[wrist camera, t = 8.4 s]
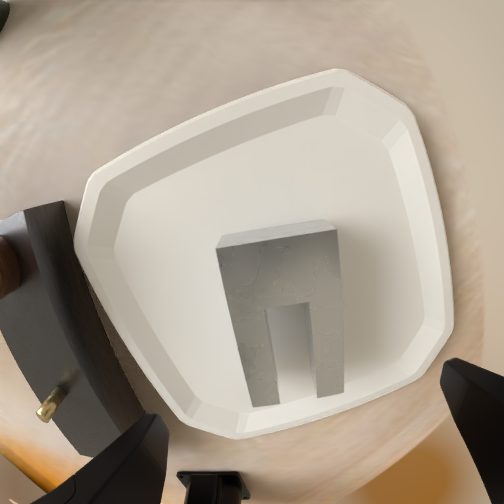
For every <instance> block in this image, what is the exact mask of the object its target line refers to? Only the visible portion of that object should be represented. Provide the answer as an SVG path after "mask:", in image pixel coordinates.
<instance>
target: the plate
mask: <svg viewBox="0 0 504 504" xmlns="http://www.w3.org/2000/svg"><path fill="white" fill-rule="evenodd" d="M320 219H324V220H326V221H327V222H328V223H330V224H331V225H332V226H334V227H335V228H336V229H337V235H338V245H339V257H340V269H341V284H342V301H343V324H344V393H341V394H337V395H332V396H327V397H322V398H317V396H316V392H315V387H314V383H313V379H312V375H311V370H310V359H309V348H308V338H307V328H306V318H305V309H304V303H299V304H293V305H287V306H281V307H275V308H268V309H266V310H267V315H268V321H269V327H270V333H271V339H272V345H273V350H274V356H275V362H276V368H277V374H278V383H279V395H280V404H279V405H271V406H262V407H252V403H251V399H250V395H249V391H248V387H247V383H246V379H245V375H244V371H243V367H242V363H241V359H240V355H239V351H238V347H237V343H236V339H235V335H234V330H233V326H232V322H231V318H230V313H229V309H228V304H227V300H226V296H225V291H224V287H223V282H222V278H221V273H220V268H219V264H218V259H217V254H216V250H215V248H216V246H217V244H218V242H219V241H220V239H221V237H222V235H226V234H232V233H238V232H244V231H250V230H256V229H262V228H269V227H275V226H281V225H287V224H294V223H300V222H306V221H313V220H320ZM73 243H74V250H75V253H76V255H77V258H78V260H79V262H80V264H81V266H82V268H83V270H84V272H85V274H86V276H87V278H88V280H89V282H90V284H91V286H92V288H93V290H94V292H95V294H96V295H97V297H98V299H99V301H100V303H101V305H102V306H103V308H104V310H105V312H106V313H107V315H108V317H109V319H110V320H111V322H112V324H113V325H114V327H115V329H116V330H117V332H118V334H119V335H120V337H121V339H122V340H123V342H124V343H125V345H126V347H127V348H128V350H129V351H130V353H131V354H132V356H133V357H134V359H135V360H136V362H137V363H138V365H139V366H140V368H141V369H142V371H143V372H144V374H145V375H146V376H147V378H148V379H149V381H150V382H151V383H152V385H153V386H154V388H155V389H156V390H157V392H158V393H159V394H160V396H161V397H162V398H163V400H164V401H165V402H166V404H167V405H168V406H169V407H170V409H171V410H172V411H173V412H174V414H175V415H176V416H177V417H178V419H179V420H180V421H182V422H183V423H185V424H186V425H188V426H191V427H194V428H197V429H200V430H203V431H207V432H210V433H213V434H216V435H220V436H223V437H227V438H231V439H245V438H250V437H255V436H259V435H264V434H268V433H272V432H276V431H280V430H284V429H288V428H292V427H295V426H299V425H302V424H306V423H309V422H312V421H316V420H319V419H322V418H325V417H328V416H331V415H334V414H337V413H340V412H343V411H345V410H348V409H351V408H353V407H356V406H359V405H361V404H364V403H366V402H369V401H371V400H374V399H376V398H378V397H381V396H383V395H385V394H388V393H390V392H392V391H394V390H397V389H399V388H401V387H403V386H405V385H407V384H409V383H411V382H413V381H415V380H417V379H418V378H420V377H421V376H422V375H423V374H424V373H425V372H426V370H427V369H428V367H429V366H430V365H431V363H432V362H433V360H434V359H435V358H436V356H437V355H438V353H439V352H440V350H441V349H442V347H443V346H444V344H445V343H446V341H447V340H448V338H449V337H450V335H451V333H452V330H453V327H454V324H455V321H454V299H453V285H452V274H451V265H450V257H449V250H448V243H447V236H446V230H445V225H444V219H443V214H442V209H441V204H440V200H439V195H438V191H437V187H436V183H435V179H434V175H433V171H432V167H431V164H430V160H429V157H428V153H427V150H426V147H425V144H424V141H423V138H422V135H421V132H420V129H419V126H418V123H417V120H416V117H415V115H414V113H413V112H412V111H411V109H410V108H409V107H408V105H407V104H405V103H404V102H402V101H401V100H399V99H397V98H396V97H394V96H393V95H391V94H390V93H388V92H386V91H385V90H383V89H381V88H380V87H378V86H376V85H374V84H373V83H371V82H369V81H367V80H366V79H364V78H362V77H360V76H358V75H356V74H355V73H353V72H351V71H349V70H345V69H338V68H334V69H330V70H326V71H322V72H318V73H315V74H311V75H308V76H304V77H301V78H297V79H294V80H291V81H288V82H284V83H281V84H278V85H275V86H272V87H269V88H266V89H263V90H261V91H258V92H255V93H252V94H250V95H247V96H244V97H242V98H239V99H236V100H234V101H231V102H229V103H226V104H224V105H221V106H219V107H217V108H214V109H212V110H210V111H207V112H205V113H203V114H200V115H198V116H196V117H194V118H192V119H189V120H187V121H185V122H183V123H181V124H179V125H177V126H175V127H173V128H171V129H169V130H167V131H165V132H163V133H161V134H159V135H157V136H155V137H153V138H151V139H149V140H147V141H145V142H143V143H142V144H140V145H138V146H136V147H134V148H132V149H131V150H129V151H127V152H125V153H124V154H122V155H120V156H119V157H117V158H115V159H113V160H112V161H110V162H108V163H107V164H105V165H104V166H102V167H100V168H99V169H97V170H96V171H94V172H93V174H92V175H91V176H90V178H89V179H88V181H87V184H86V187H85V191H84V195H83V199H82V203H81V207H80V211H79V216H78V220H77V225H76V229H75V234H74V239H73Z"/></svg>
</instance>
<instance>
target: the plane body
mask: <svg viewBox="0 0 504 504" xmlns="http://www.w3.org/2000/svg"><path fill="white" fill-rule="evenodd" d="M0 330H1V332H2V334H3V337H4V339H5V341H6V343H7V345H8V347H9V349H10V351H11V353H12V355H13V357H14V359H15V360H16V362H17V364H18V366H19V368H20V370H21V371H22V373H23V375H24V377H25V378H26V380H27V382H28V383H29V385H30V387H31V388H32V390H33V391H34V393H35V395H36V396H37V398H38V399H39V401H40V402H41V404H42V405H41V407H40V408H39V409H38V411H37V412H36V414H37V416H38V417H39V419H41V420H42V421H43V422H45V423H48V422H49V420H50V419H51V418H52V420H53V421H54V422H55V424H56V425H57V426H58V428H59V429H60V430H61V432H62V433H63V434H64V436H65V437H66V438H67V439H68V441H69V442H70V443H71V444H72V445H73V447H74V448H75V449H76V450H77V451H78V453H79V454H80V455H84V456H88V457H93V458H94V457H96V456H97V455H98V454H99V453H100V452H102V451H103V450H104V449H105V448H106V447H107V446H109V445H110V444H111V443H112V442H113V441H115V440H116V439H117V438H118V437H119V436H120V435H121V434H123V433H124V432H125V431H126V430H127V429H128V428H130V427H131V426H132V425H133V424H134V423H135V422H136V421H138V420H139V419H140V418H141V417H142V416H143V415H144V414H146V413H145V411H144V410H143V408H142V406H141V404H140V403H139V401H138V399H137V397H136V395H135V393H134V392H133V390H132V388H131V386H130V384H129V382H128V380H127V378H126V376H125V374H124V372H123V370H122V368H121V366H120V364H119V362H118V360H117V358H116V356H115V354H114V351H113V349H112V347H111V345H110V343H109V340H108V338H107V336H106V333H105V331H104V329H103V326H102V324H101V321H100V319H99V316H98V314H97V311H96V309H95V306H94V304H93V301H92V298H91V295H90V293H89V290H88V287H87V284H86V281H85V278H84V275H83V272H82V269H81V266H80V263H79V260H78V258H77V255H76V253H75V250H74V243H73V239H72V235H71V232H70V228H69V224H68V220H67V216H66V212H65V207H64V203H63V200H62V201H58V202H54V203H49V204H45V205H41V206H37V207H33V208H30V209H26V210H23V211H20V212H18V213H16V214H14V215H12V216H10V217H8V218H6V219H4V220H1V221H0Z"/></svg>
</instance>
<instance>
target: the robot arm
mask: <svg viewBox="0 0 504 504" xmlns="http://www.w3.org/2000/svg"><path fill="white" fill-rule="evenodd" d="M440 386H441V389H442V391H443V393H444V396H445V398H446V401H447V404H448V406H449V409H450V411H451V414H452V416H453V419H454V421H455V423H456V426H457V428H458V430H459V431H460V434H461V436H462V437H463V440H464V441H465V444H466V446H467V448H468V450H469V452H470V454H471V456H472V458H473V461H474V463H475V465H476V467H477V469H478V472H479V474H480V476H481V479H482V481H483V483H484V486H485V488H486V491H487V493H488V496H489V498H490V500H491V503H492V504H504V377H503V376H501V375H498V374H496V373H493V372H491V371H488V370H486V369H483V368H481V367H478V366H476V365H474V364H471V363H469V362H466V361H464V360H461V359H459V358H452V359H449V360H447V361H445V363H444V365H443V369H442V374H441V378H440ZM168 443H169V431H168V428H167V427H166V425H165V423H164V421H163V420H162V418H161V416H160V415H159V414H158V413H146V414H144V415H143V416H142V417H141V418H140V419H139V420H138V421H136V422H135V423H134V424H133V425H132V426H131V427H130V428H128V429H127V430H126V431H125V432H124V433H123V434H121V435H120V436H119V437H118V438H117V439H116V440H115V441H113V442H112V443H111V444H110V445H109V446H107V447H106V448H105V449H104V450H103V451H102V452H100V453H99V454H98V455H97V456H96V457H94V458H93V459H92V460H91V461H90V462H88V463H87V464H86V465H85V466H83V467H82V468H81V469H80V470H79V471H77V472H76V473H75V475H72V476H71V477H70V478H68V479H67V480H66V481H65V482H63V483H62V484H61V485H59V486H58V487H56V488H55V489H53V490H52V491H50V492H49V493H47V494H46V495H44V496H42V497H41V498H39V499H37V500H36V501H34V502H32V503H30V504H160V503H161V498H162V493H163V487H164V482H165V477H166V469H167V455H168ZM176 476H177V477H178V479H179V480H180V481H181V482H182V484H183V485H184V486H185V487H186V489H187V491H186V496H185V501H184V504H241V500H247V499H250V494H249V492H248V490H247V488H246V486H245V484H244V482H243V480H242V478H241V476H240V475H239V473H237V472H177V475H176Z"/></svg>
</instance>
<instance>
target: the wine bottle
mask: <svg viewBox="0 0 504 504" xmlns="http://www.w3.org/2000/svg"><path fill="white" fill-rule="evenodd" d="M8 13H9V4H8V3H7V2H5V1H2V0H0V31H1V29H2V28H3V26H4V24H5V22H6V19H7V17H8Z"/></svg>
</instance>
